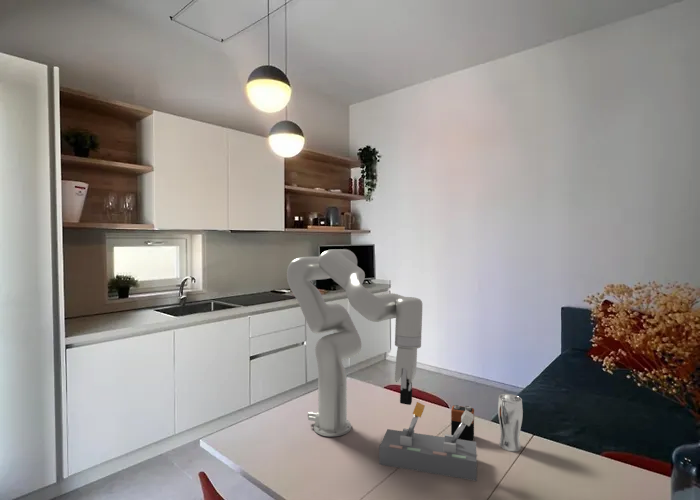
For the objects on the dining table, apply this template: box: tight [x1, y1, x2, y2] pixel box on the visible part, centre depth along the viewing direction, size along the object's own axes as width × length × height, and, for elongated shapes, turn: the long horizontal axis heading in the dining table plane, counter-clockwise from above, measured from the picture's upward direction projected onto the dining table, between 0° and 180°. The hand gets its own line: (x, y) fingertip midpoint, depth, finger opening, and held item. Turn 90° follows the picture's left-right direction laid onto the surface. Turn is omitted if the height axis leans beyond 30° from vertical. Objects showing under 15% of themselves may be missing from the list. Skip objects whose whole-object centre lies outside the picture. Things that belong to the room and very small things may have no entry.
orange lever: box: [406, 401, 426, 437], centre depth 112 cm, size 2×3×11 cm
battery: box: [450, 404, 475, 441], centre depth 125 cm, size 4×7×10 cm, turn 69°
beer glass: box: [497, 393, 524, 453], centre depth 119 cm, size 7×7×15 cm
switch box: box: [378, 428, 478, 482], centre depth 111 cm, size 26×11×7 cm, turn 73°
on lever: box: [449, 410, 475, 443], centre depth 108 cm, size 2×3×11 cm
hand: (405, 403), depth 113 cm, fingers closed
